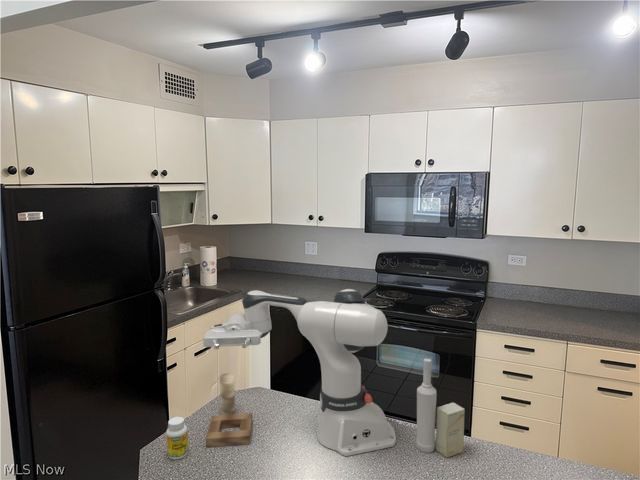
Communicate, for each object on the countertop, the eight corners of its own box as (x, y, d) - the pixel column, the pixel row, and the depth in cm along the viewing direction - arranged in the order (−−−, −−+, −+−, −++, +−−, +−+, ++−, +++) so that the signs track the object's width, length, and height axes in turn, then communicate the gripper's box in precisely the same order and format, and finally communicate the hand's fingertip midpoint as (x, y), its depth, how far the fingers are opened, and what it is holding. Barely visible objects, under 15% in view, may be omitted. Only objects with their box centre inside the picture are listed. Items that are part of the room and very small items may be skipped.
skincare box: (446, 458, 110) (448, 414, 108) (434, 449, 114) (435, 407, 112) (464, 451, 113) (465, 408, 111) (452, 442, 117) (453, 401, 115)
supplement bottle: (185, 445, 117) (183, 412, 115) (191, 455, 112) (189, 421, 111) (165, 452, 114) (163, 418, 112) (170, 462, 109) (168, 428, 108)
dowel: (235, 408, 136) (234, 372, 135) (234, 415, 132) (233, 379, 130) (222, 409, 136) (220, 373, 134) (220, 416, 131) (218, 379, 130)
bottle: (420, 439, 118) (422, 354, 115) (437, 445, 115) (440, 359, 112) (412, 448, 114) (414, 361, 111) (430, 455, 111) (433, 365, 108)
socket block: (252, 420, 129) (252, 413, 128) (249, 444, 117) (249, 435, 116) (212, 423, 127) (212, 415, 127) (205, 447, 116) (205, 438, 115)
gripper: (262, 339, 159) (261, 353, 145) (207, 342, 157) (200, 356, 143) (262, 323, 158) (260, 336, 144) (206, 325, 156) (200, 338, 142)
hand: (230, 346), depth 144 cm, fingers open, 8 cm apart
